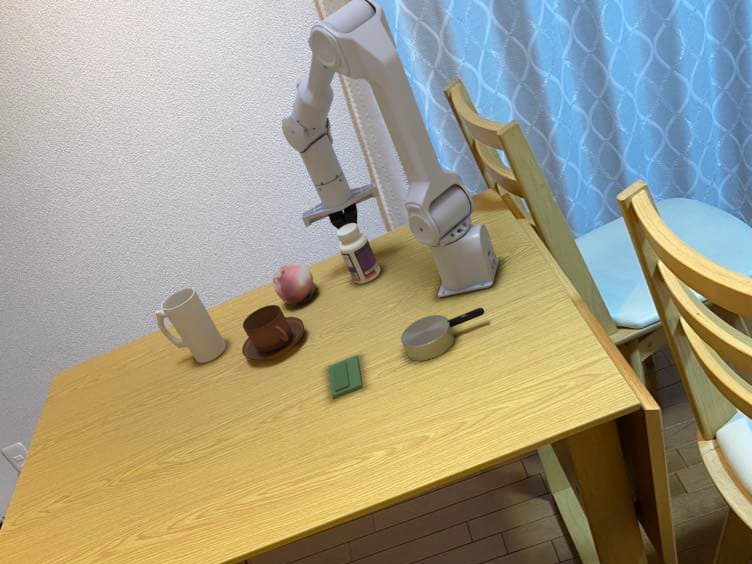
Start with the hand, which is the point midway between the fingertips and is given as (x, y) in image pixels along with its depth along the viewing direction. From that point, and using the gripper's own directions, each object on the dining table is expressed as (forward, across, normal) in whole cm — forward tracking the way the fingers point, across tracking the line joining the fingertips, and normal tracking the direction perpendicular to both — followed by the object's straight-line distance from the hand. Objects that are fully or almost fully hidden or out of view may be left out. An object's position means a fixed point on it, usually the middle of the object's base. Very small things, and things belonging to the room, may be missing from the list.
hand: (357, 245), depth 161 cm
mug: (+4, +34, +11) cm, 36 cm away
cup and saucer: (+4, +18, +18) cm, 26 cm away
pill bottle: (+4, 0, +6) cm, 7 cm away
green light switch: (+3, +6, +37) cm, 38 cm away
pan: (+3, -11, +37) cm, 39 cm away
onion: (+4, +13, +4) cm, 14 cm away
